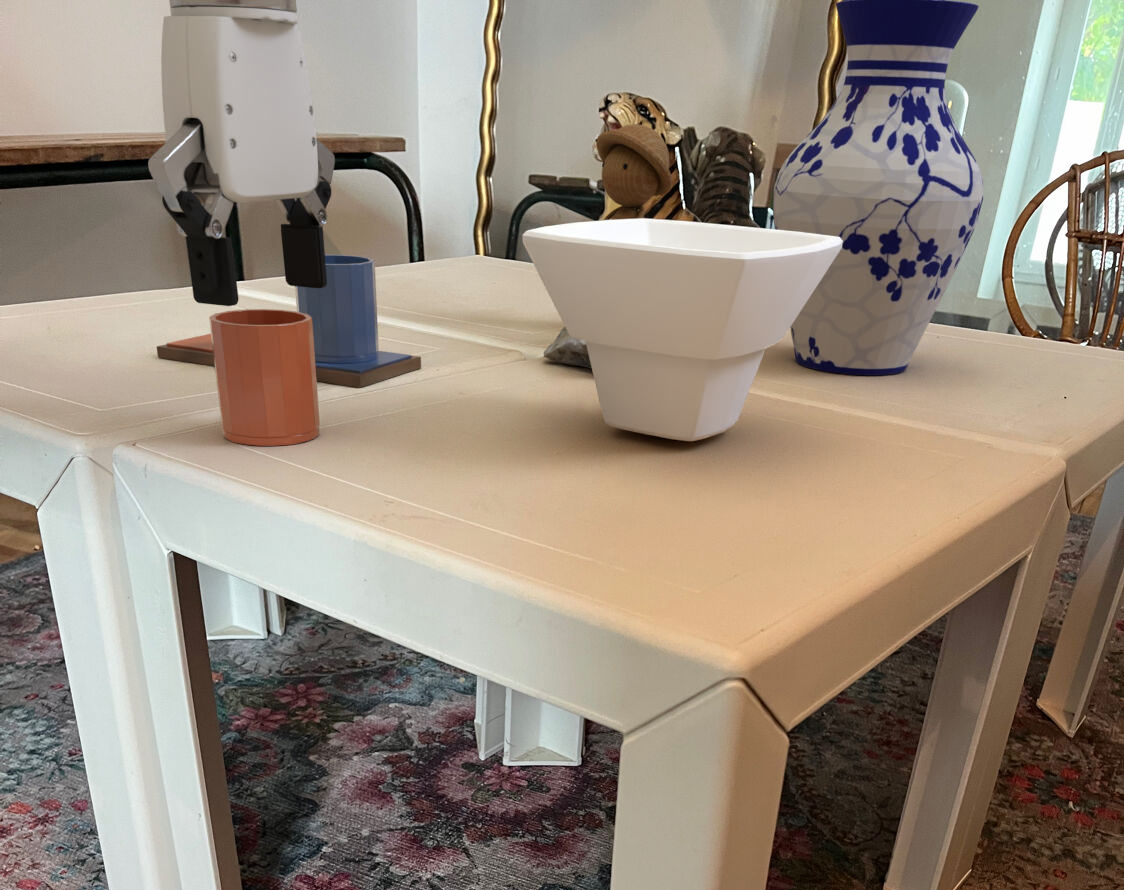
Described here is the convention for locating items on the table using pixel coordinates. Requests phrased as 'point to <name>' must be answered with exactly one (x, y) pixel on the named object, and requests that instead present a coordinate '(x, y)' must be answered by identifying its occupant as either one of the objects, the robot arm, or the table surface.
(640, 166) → the figurine
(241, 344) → the terracotta cup
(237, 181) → the robot arm
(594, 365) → the bowl
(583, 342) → the rock
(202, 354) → the board
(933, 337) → the table surface
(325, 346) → the blue cup
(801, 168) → the vase
